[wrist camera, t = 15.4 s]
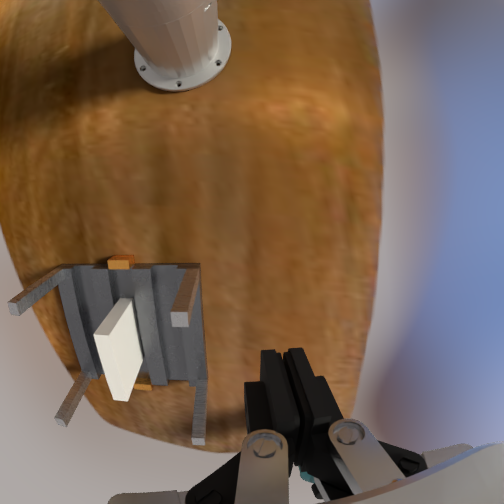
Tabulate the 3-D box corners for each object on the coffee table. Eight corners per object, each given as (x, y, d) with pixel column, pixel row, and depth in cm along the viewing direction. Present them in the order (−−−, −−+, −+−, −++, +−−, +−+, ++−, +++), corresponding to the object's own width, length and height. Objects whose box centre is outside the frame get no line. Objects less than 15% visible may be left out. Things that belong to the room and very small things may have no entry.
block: (120, 298, 37) (93, 334, 28) (133, 298, 37) (108, 335, 28) (131, 356, 40) (113, 399, 30) (144, 357, 40) (127, 401, 30)
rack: (61, 255, 36) (4, 291, 22) (199, 254, 37) (186, 299, 24) (90, 374, 41) (61, 430, 28) (208, 382, 43) (206, 450, 30)
